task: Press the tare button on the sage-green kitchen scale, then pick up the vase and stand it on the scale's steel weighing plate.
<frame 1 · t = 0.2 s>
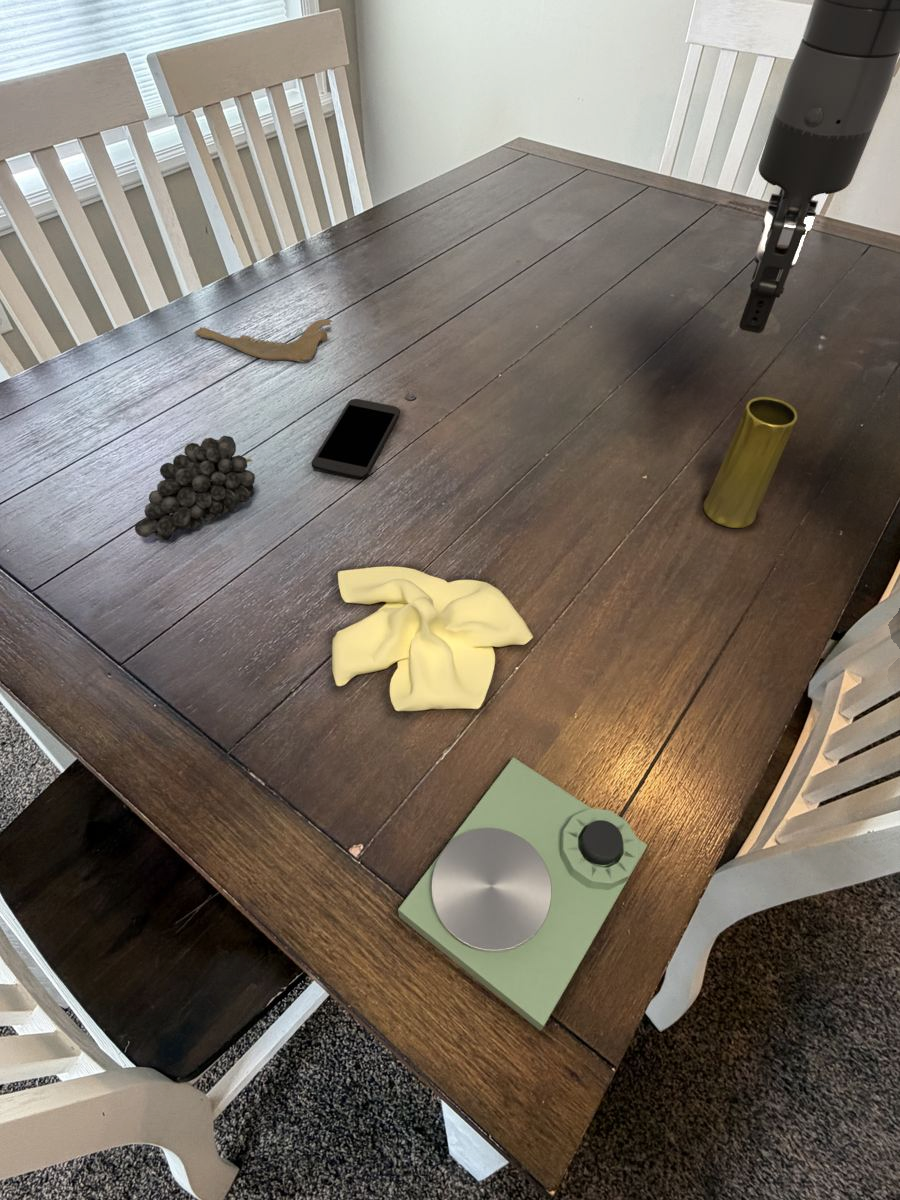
hand: (755, 308, 70), 24 cm above the table, tool pointing down, fingers open, 8 cm apart
smartphone: (358, 440, 94), on the table
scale: (524, 884, 58), on the table
vase: (728, 512, 87), on the table
jawbone: (267, 338, 110), on the table
weighing plate: (490, 888, 55), resting on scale
fruit: (199, 515, 85), on the table
tare button: (601, 842, 57), point 4 cm above the table, slide at 0.1 cm
cloth: (414, 633, 75), on the table
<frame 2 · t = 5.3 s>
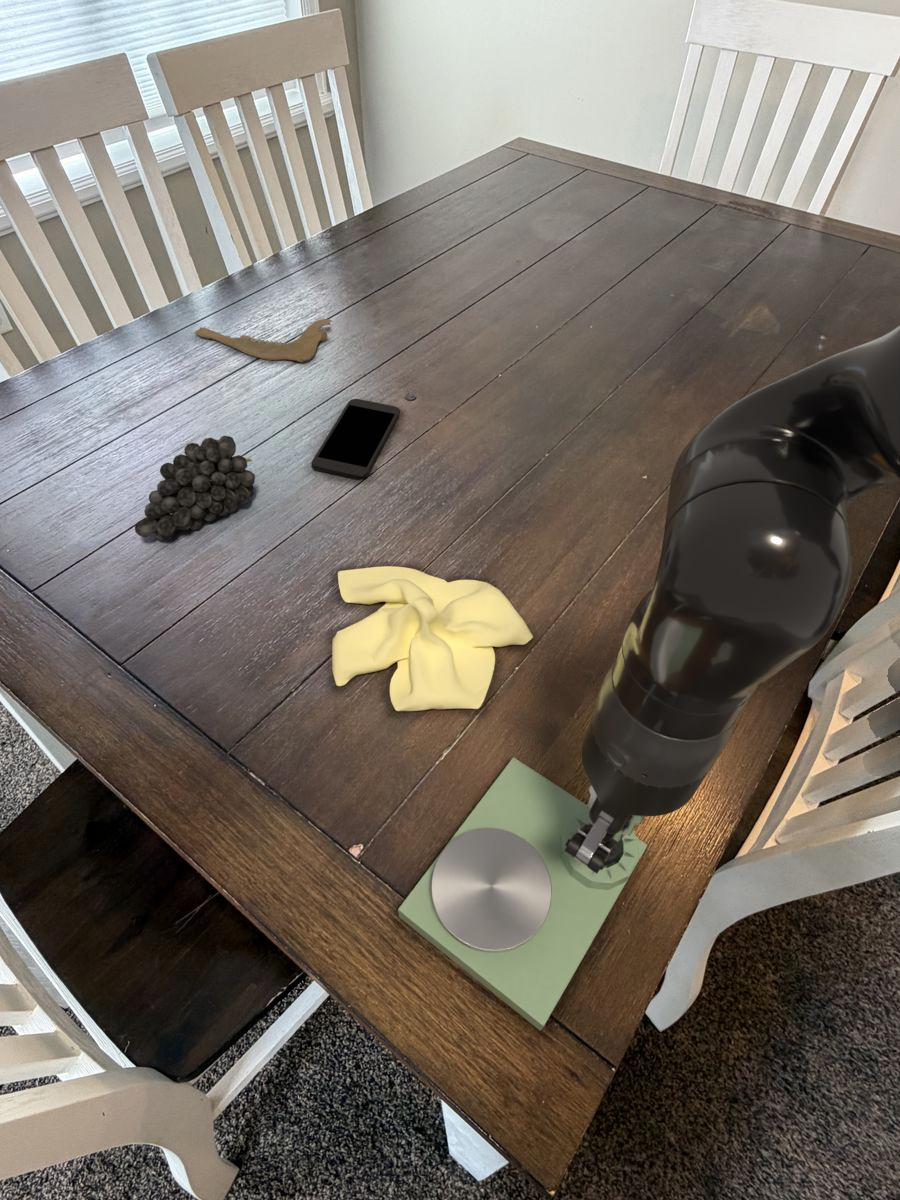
hand: (601, 839, 56), 4 cm above the table, tool pointing down, fingers closed
tare button: (601, 843, 57), point 4 cm above the table, slide at -0.1 cm, touching gripper
everything else where it was.
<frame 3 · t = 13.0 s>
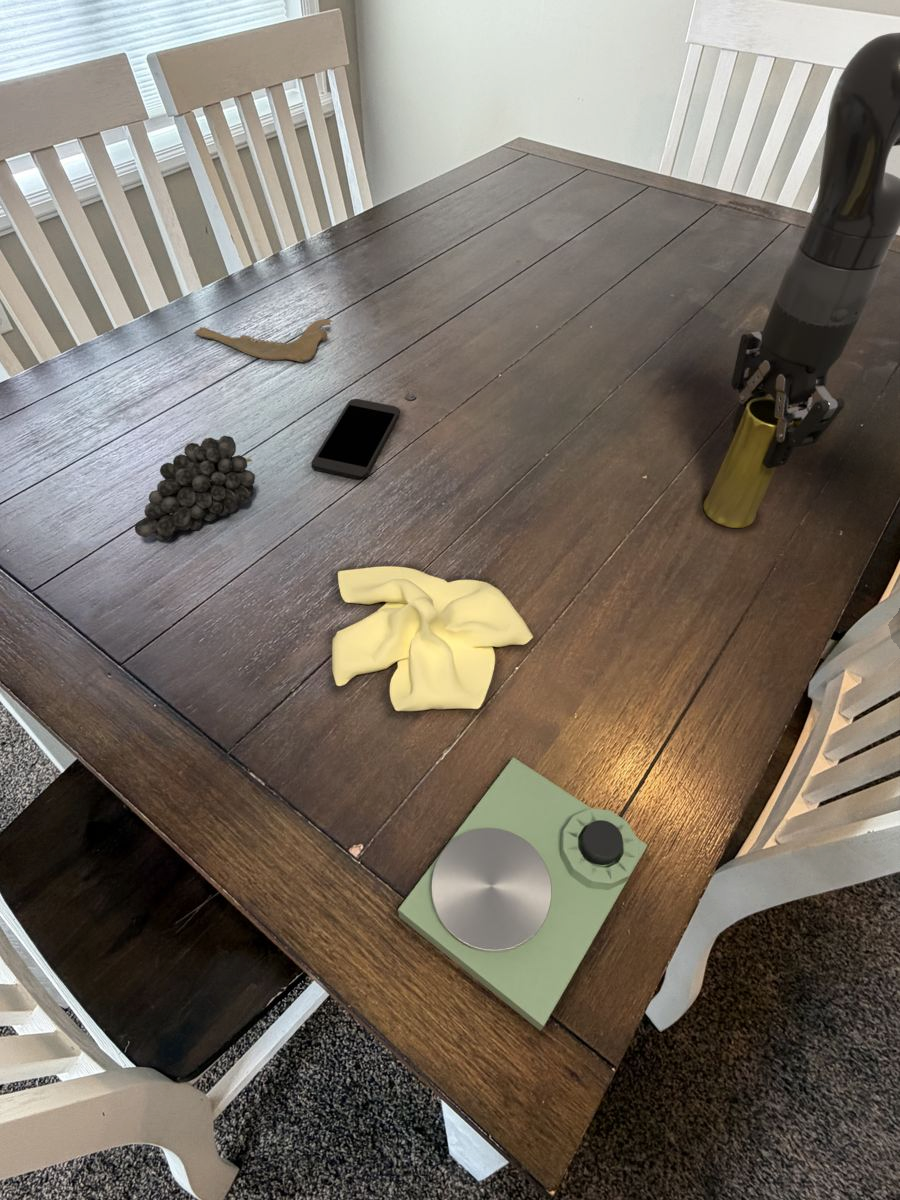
hand: (756, 447, 80), 9 cm above the table, tool pointing down, fingers closed on vase, 5 cm apart
vase: (728, 512, 87), on the table, touching gripper
tare button: (601, 842, 57), point 4 cm above the table, slide at 0.1 cm
everything else where it was.
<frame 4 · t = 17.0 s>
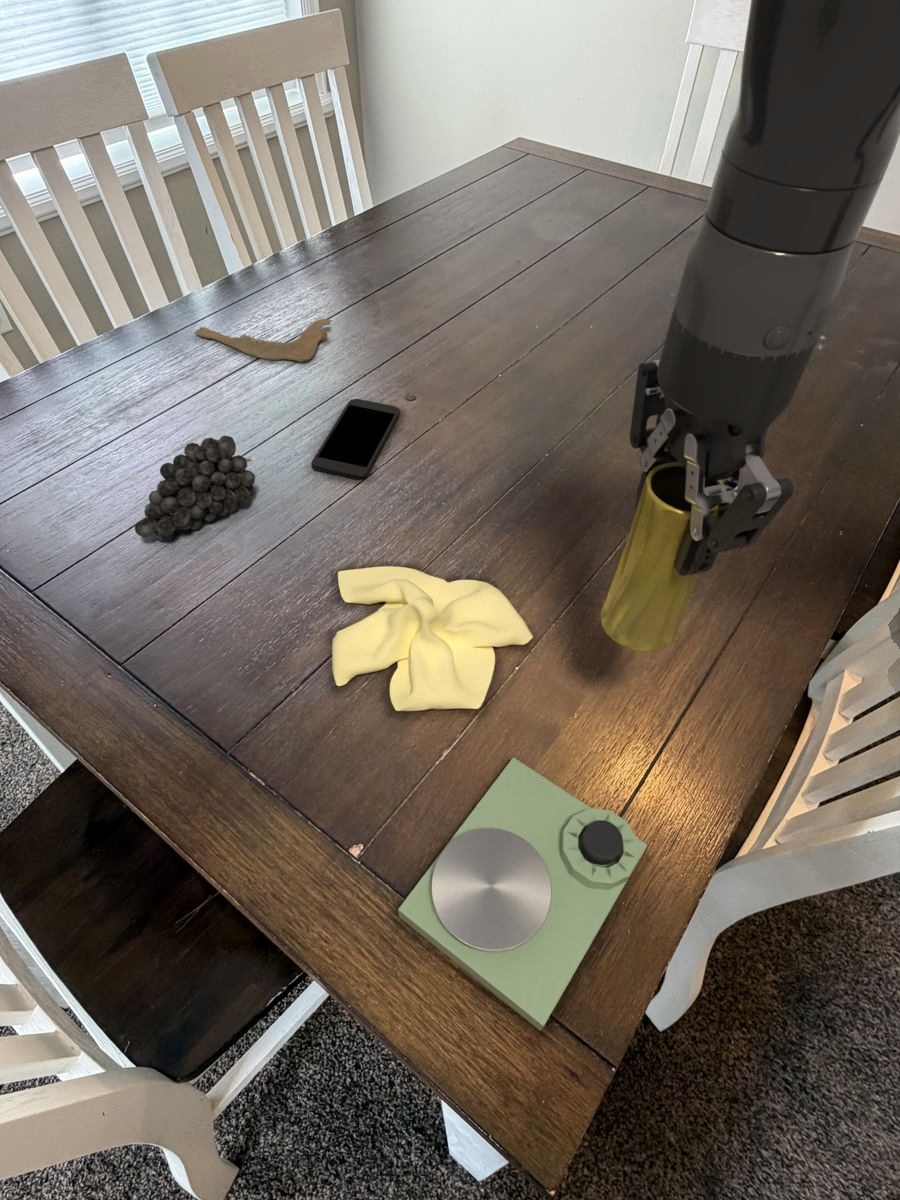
hand: (668, 539, 51), 23 cm above the table, tool pointing down, fingers closed on vase, 5 cm apart
vase: (638, 624, 58), point 14 cm above the table, touching gripper
everything else where it was.
when the fingers open (14 cm above the table, at t = 21.3 s): vase stays where it is, resting on weighing plate.
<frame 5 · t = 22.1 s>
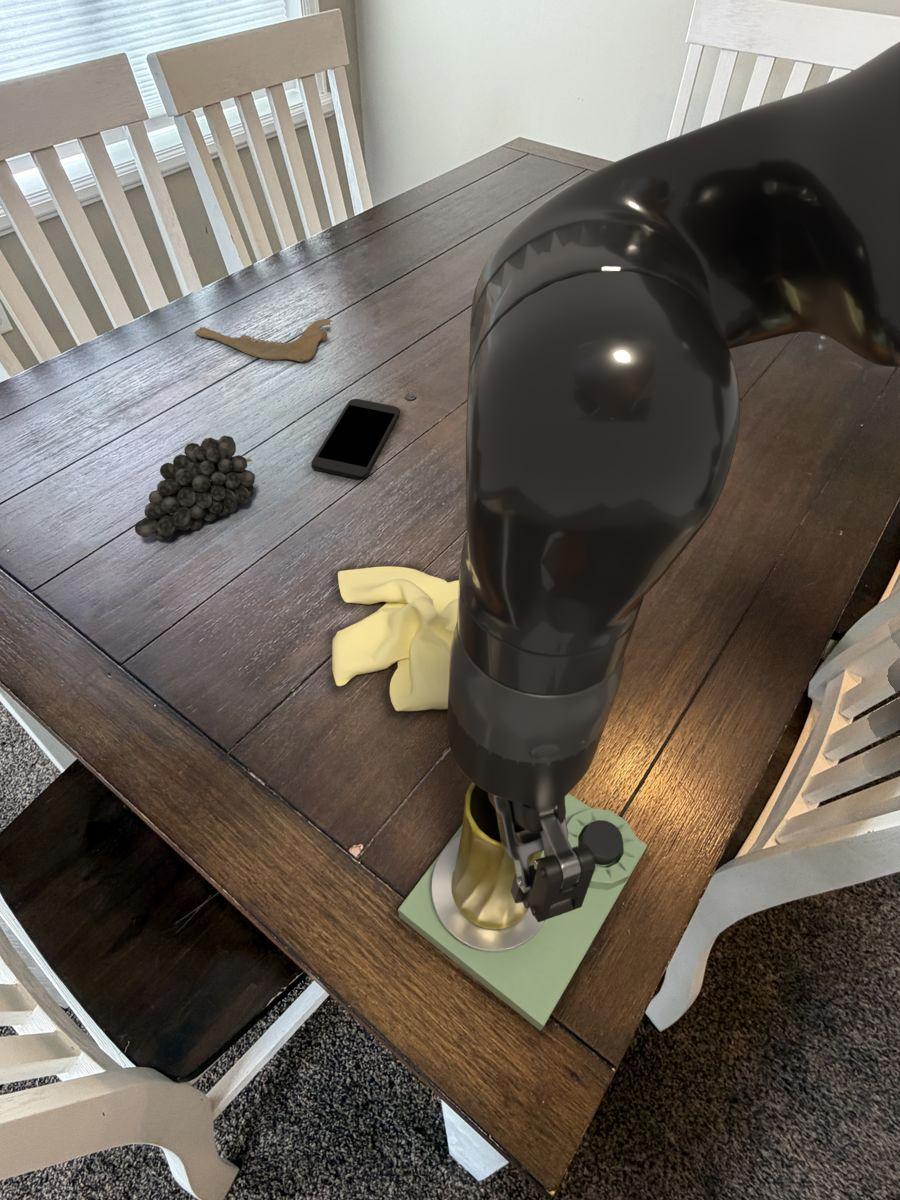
hand: (503, 827, 46), 15 cm above the table, tool pointing down, fingers open, 8 cm apart
vase: (492, 887, 54), point 4 cm above the table, touching weighing plate
everything else where it was.
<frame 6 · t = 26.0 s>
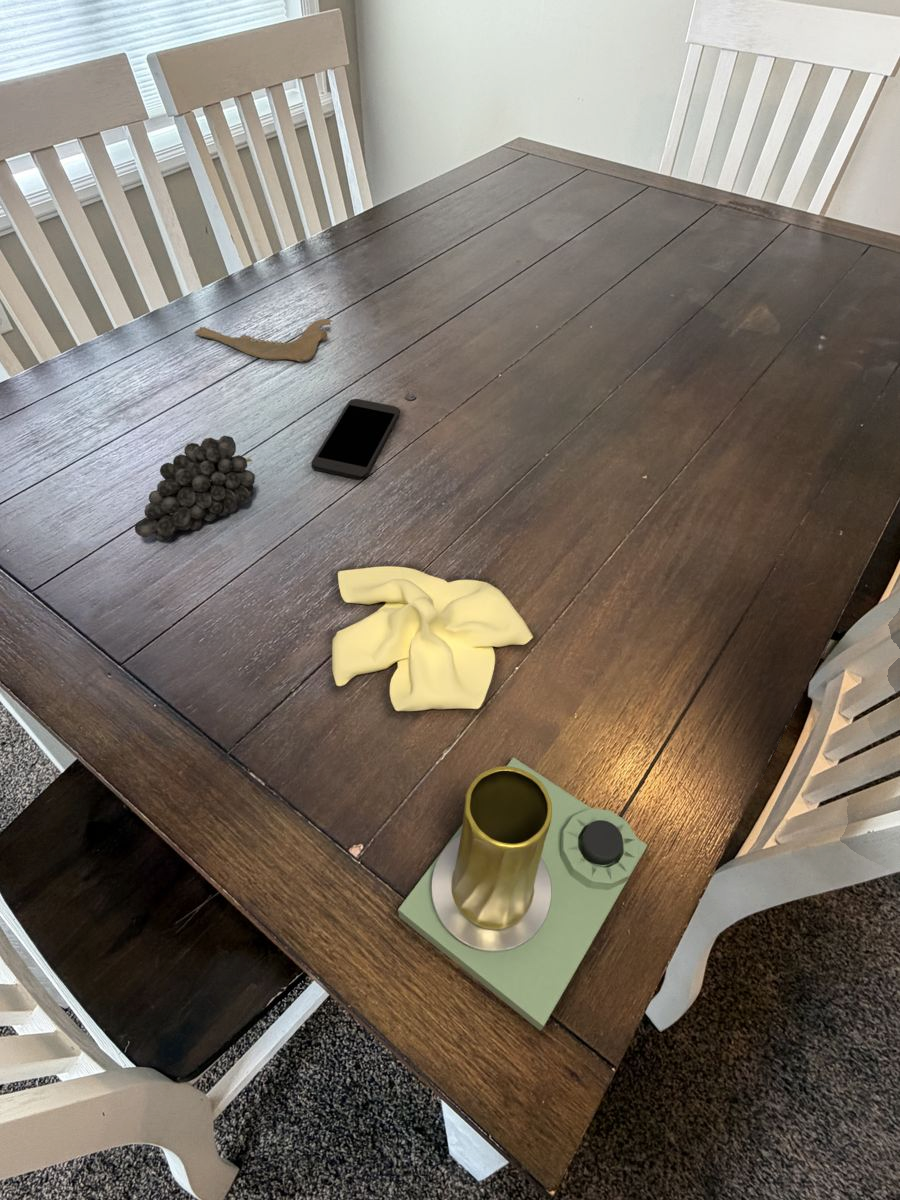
nothing on the table moved.
at the end: tare button pushed in 0.9 cm at the most during the clip, back to where it started at the end; vase 0.1 cm from the target spot on the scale, point 3.9 cm above the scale's base; vase tilted 0° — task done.
